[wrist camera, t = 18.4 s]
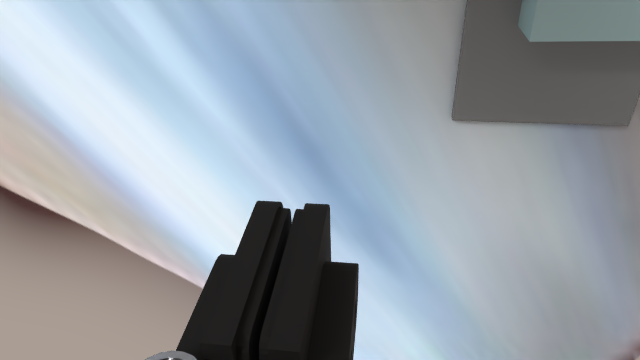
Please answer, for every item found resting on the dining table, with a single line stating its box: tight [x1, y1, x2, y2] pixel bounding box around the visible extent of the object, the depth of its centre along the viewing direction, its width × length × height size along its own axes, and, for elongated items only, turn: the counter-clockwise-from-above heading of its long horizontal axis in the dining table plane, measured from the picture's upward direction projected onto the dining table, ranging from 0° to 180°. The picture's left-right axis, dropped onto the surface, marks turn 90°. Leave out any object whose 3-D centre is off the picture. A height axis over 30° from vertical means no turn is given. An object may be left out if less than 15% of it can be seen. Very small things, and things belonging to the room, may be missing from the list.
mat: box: [452, 0, 640, 126], centre depth 29 cm, size 12×11×1 cm
